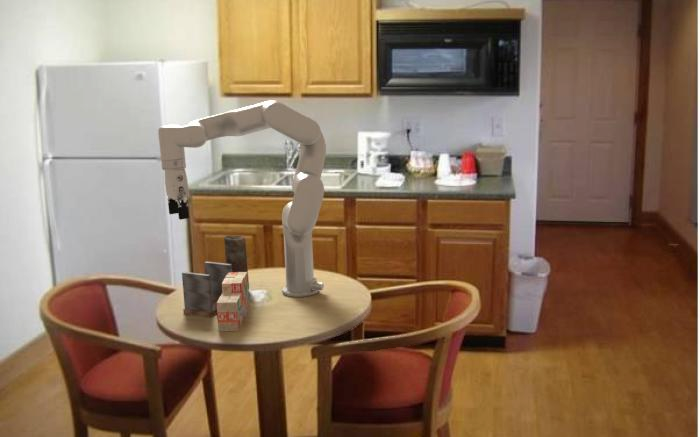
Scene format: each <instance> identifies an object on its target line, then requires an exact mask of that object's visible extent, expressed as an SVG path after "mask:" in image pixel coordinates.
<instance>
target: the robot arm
mask: <svg viewBox="0 0 700 437" xmlns="http://www.w3.org/2000/svg"><path fill="white" fill-rule="evenodd" d="M267 129H272V130H274V131H275V132H278V133H279V134H282V135H283V136H285V137H287V138H289V139H291V140H292V141H293V140H294V141H295V142H296V143H299V147H300V151H299V158H298V162H297V165H296V168H295V172H294V175H293V176H294V177H293V179H292V182H291V188H292V192H293V198H292V201H289V202H288V203H286V205H284V207H283V209H282V213H281V222H282V229H283V231H282V232H283V244H284V265H285V266H284V267H285V282H286V283H285V284H286V285H284V286H283V287H282V289H281V292H282V294H283V295H284V296H287V297H292V298H293V297H294V298H303V297H309V296H313V295H315V294H317V293H318V292H319V291H323V290H324V288H325V287H324V286H325V285H324V282H318V281H317V277H315V276H314V257H313V256H314V255H313V254H314V252H313V250H314V249H313V235H312V234H313V233H312V231H313V230H314V228H315V227H316V223H317V221H318V218H319V215H320V214H319V213H320V211H321V207H322V203H323V200H324V196H325V186H324V183H323V180H322V179H321V177H322V173H323V169H324V164H325V162H326V160H325V159H326V154H327V144H326V141H325V136H324V134H323V132H322V131H321V127H320V125H319V124H318V122H317V121H316V120H314V119H313V118H311V117H309V116H306V115H305V114H302V113H300V112H298V111H297V110H294V109H292V108H291V107H289V106H287V105H286V104H285V103H282V102H280V101H278V100H275V99H273V100H266V101H263V102H260V103H256V104H254V105H249V106H244V107H241V108H238V109H234V110H229V111H226V112H224V113H219V114H215V115H211V116H206V117H204V118H200V119H196V120H192V121H190V122H188V123H187V124H186V125H183V126H180V125H179V124H168V125H162V126H160V127H159V128H158V130H157V133H158V135H157V136H158V143H159V152H160V162H161V170H162V171H164V186H165V192H166V196H167V206H168V214H169V215H176V214H178V219H179V220H186V219H189V218H190V212H189V204H188V202H189V201H188V200H189V199H190V197H191V196H190V188H189V183H188V176H187V173H186V168H187V166H186V165H187V164H186V154H185V148H189V149H190V148H191V149H194V148H195V149H196V148H201V147H203V146H204V145H205V144H206V143H207V141H211V140H215V139H219V138H224V137H240V136H241V137H242V136H247V135H250V134H253V133H256V132H261V131H264V130H267Z"/></svg>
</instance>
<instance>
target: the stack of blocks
mask: <svg viewBox="0 0 700 437" xmlns="http://www.w3.org/2000/svg"><path fill="white" fill-rule="evenodd" d="M248 281H249V274H248V275H247V272H230V273H228V274H227V275H226V277H225V278H224V280H223V282H222V295H221V296H220V297H219V299H218V301H217V314H216V316H217V317H216V318H217V327H218V328H217V330H218V332H238V331H239V330H240V327H241V326H242V324H243V322H244V319H245V318H246V315H247V313H248V311H249V309H250V307H251V306H250V296H249V290H248Z"/></svg>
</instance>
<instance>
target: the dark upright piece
mask: <svg viewBox="0 0 700 437" xmlns="http://www.w3.org/2000/svg"><path fill="white" fill-rule="evenodd" d="M223 240H224V252H225V253H224V254H225V264H232V272H247V275H248V276H249V271H248V257H247V243H246V237H243V236H241V235H226V236H224V237H223ZM249 290H250V284H249V280H248V291H249Z"/></svg>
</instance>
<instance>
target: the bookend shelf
mask: <svg viewBox="0 0 700 437" xmlns="http://www.w3.org/2000/svg"><path fill="white" fill-rule="evenodd" d="M203 263H204V264H203V265H204V273H198V272H197V273H196V272H192V271H191V272H188V271H182V272H181V279H182V281H181V282H182V290H183V303H184V304H183V305H184V308H182V311H183V315H190V316H197V317H203V318H212V317H213V316H215V315H217V301H218V299H219V297H220V296H221V295H222V282H223V280H224V278H225V277H226V275H227V274H228V273H230V272H232V264H226V262H225V263H223V262H217V261H216V262H215V261H205V262H203Z"/></svg>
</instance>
